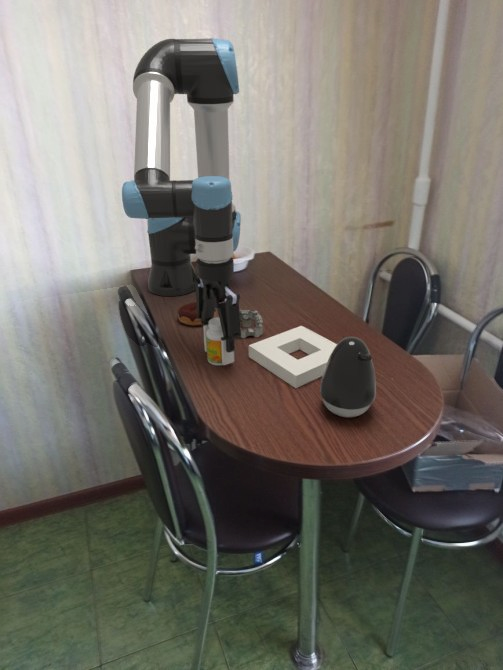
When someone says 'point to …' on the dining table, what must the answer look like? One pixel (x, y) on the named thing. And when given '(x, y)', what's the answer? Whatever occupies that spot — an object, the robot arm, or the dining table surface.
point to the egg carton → (246, 322)
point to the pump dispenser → (349, 379)
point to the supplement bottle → (214, 342)
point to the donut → (190, 314)
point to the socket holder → (285, 366)
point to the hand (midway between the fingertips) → (219, 356)
